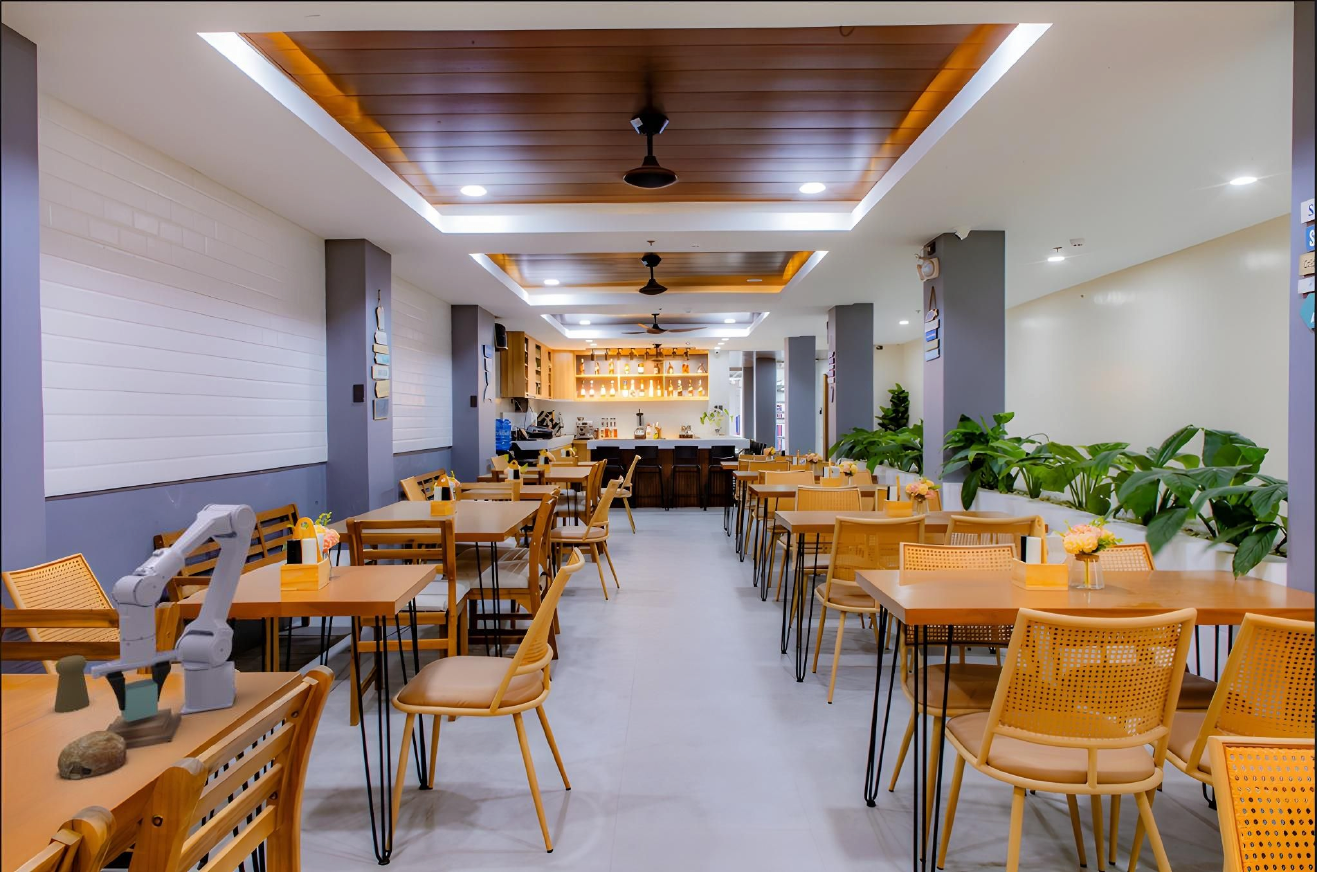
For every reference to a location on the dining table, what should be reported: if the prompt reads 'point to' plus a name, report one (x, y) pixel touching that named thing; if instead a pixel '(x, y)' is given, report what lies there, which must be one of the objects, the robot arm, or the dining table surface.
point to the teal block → (140, 700)
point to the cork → (71, 684)
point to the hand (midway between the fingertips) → (139, 704)
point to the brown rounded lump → (92, 755)
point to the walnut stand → (147, 729)
